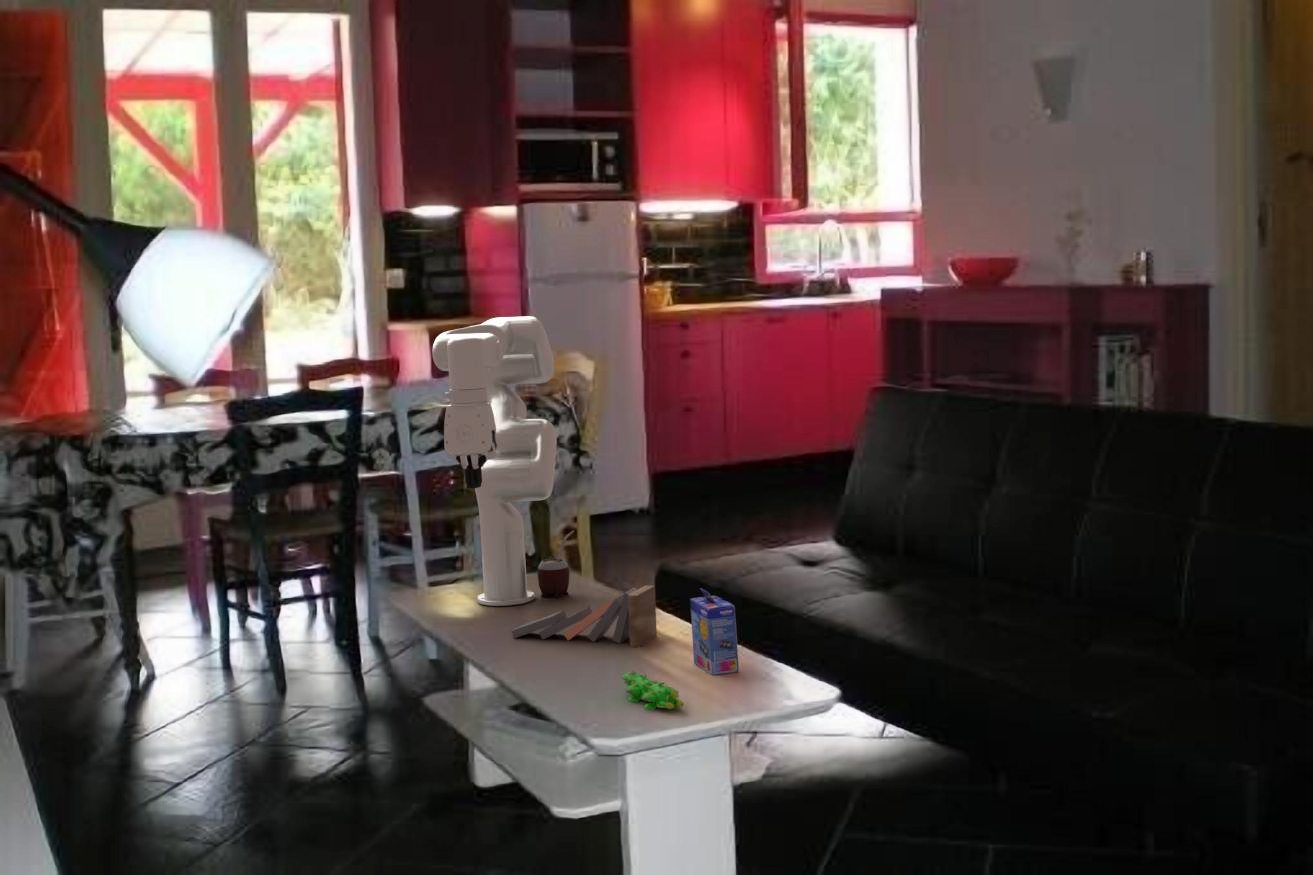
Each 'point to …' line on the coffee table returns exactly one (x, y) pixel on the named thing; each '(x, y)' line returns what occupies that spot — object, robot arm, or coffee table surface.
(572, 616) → the domino
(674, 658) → the coffee table surface
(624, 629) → the domino
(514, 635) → the domino
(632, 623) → the end post
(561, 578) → the mate gourd
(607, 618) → the domino
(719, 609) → the ink cartridge box
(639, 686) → the green bumpy elongated piece
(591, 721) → the coffee table surface
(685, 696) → the coffee table surface
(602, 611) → the domino
